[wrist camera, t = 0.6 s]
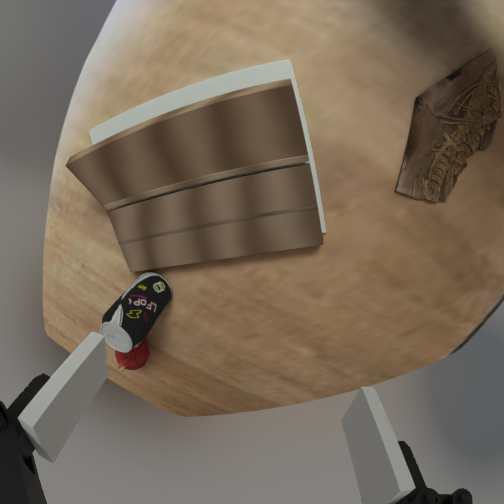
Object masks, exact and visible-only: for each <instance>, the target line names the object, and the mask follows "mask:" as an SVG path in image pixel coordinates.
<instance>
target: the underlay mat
mask: <svg viewBox="0 0 504 504" xmlns="http://www.w3.org/2000/svg"><path fill="white" fill-rule="evenodd" d="M290 78H291V81H292V85H293V89H294V93H295V97H296V101H297V106H298V110H299V114H300V118H301V123H302V127H303V132H304V137H305V141H306V146H307V151H308V156H309V161H308V162H302V163H296V164H290V165H284V166H279V167H274V168H268V169H263V170H258V171H253V172H249V173H244V174H239V175H235V176H230V177H226V178H221V179H217V180H213V181H208V182H204V183H200V184H196V185H192V186H188V187H184V188H180V189H177V190H173V191H169V192H165V193H162V194H158V195H155V196H159V195H163V194H166V193H170V192H174V191H178V190H182V189H185V188H189V187H193V186H197V185H201V184H206V183H210V182H214V181H218V180H223V179H227V178H232V177H236V176H241V175H246V174H250V173H255V172H260V171H265V170H271V169H276V168H281V167H287V166H292V165H298V164H304V163H310V166H311V171H312V177H313V182H314V187H315V193H316V199H317V205H318V211H319V217H320V223H321V230H322V233H326V228H325V221H324V214H323V208H322V202H321V196H320V190H319V184H318V179H317V173H316V168H315V163H314V158H313V153H312V148H311V143H310V138H309V134H308V129H307V125H306V120H305V116H304V111H303V107H302V103H301V99H300V95H299V91H298V87H297V83H296V79H295V76H294V72H293V68H292V64H291V61H290V59H285V60H280V61H275V62H270V63H265V64H261V65H257V66H252V67H248V68H244V69H241V70H237V71H233V72H229V73H226V74H223V75H219V76H216V77H213V78H209V79H206V80H203V81H200V82H197V83H194V84H191V85H188V86H186V87H183V88H180V89H177V90H175V91H172V92H169V93H167V94H164V95H162V96H159V97H157V98H155V99H152V100H150V101H147V102H145V103H143V104H141V105H138V106H136V107H134V108H132V109H130V110H127V111H125V112H123V113H121V114H119V115H117V116H115V117H113V118H111V119H109V120H107V121H105V122H103V123H101V124H100V125H98V126H96V127H94V128H92V129H90V130H89V132H90V136H91V140H92V144H93V145H94V144H96V143H98V142H100V141H102V140H104V139H106V138H108V137H111V136H113V135H115V134H117V133H119V132H121V131H123V130H126V129H128V128H130V127H133V126H135V125H137V124H140V123H142V122H144V121H147V120H149V119H152V118H154V117H157V116H159V115H162V114H164V113H167V112H170V111H173V110H175V109H178V108H181V107H184V106H187V105H190V104H193V103H196V102H199V101H202V100H205V99H208V98H212V97H215V96H218V95H222V94H225V93H229V92H232V91H236V90H240V89H244V88H248V87H252V86H256V85H261V84H265V83H270V82H274V81H279V80H285V79H290ZM155 196H151V197H148V198H152V197H155ZM148 198H144V199H141V200H145V199H148ZM141 200H137V201H134V202H131V203H135V202H138V201H141ZM131 203H127V204H124V205H121V206H125V205H128V204H131ZM121 206H118V207H121ZM118 207H114V208H111V209H112V210H113V209H115V208H118Z"/></svg>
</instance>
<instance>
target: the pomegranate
mask: <svg viewBox="0 0 504 504" xmlns="http://www.w3.org/2000/svg"><path fill="white" fill-rule="evenodd" d="M115 355H116V359H117V362H118V363H119V367H118V368H119V370H120V371H124V370H125V369H129V370H136V369H139V368H141V367H142V366H144V365H145V364H146V362H147V360H148V357H149V348H148V345H147V343H146V341H145V340H143V342H142V343H141V344H140V345H139V346H138V347H136V348H133V349H131V350H130V351H129V352H126V353H124V352H119V351H117V350H116V351H115Z"/></svg>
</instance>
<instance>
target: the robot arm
mask: <svg viewBox="0 0 504 504" xmlns="http://www.w3.org/2000/svg"><path fill="white" fill-rule="evenodd" d="M107 377H108V368H107V358H106V347H105V336H103V335H101V334H98V333H95V332H91V333H90V334H89V335H88V336H87V337H86V338H85V340H84V341H83V342H82V343H81V344H80V345H79V346H78V347H77V348H76V349H75V350H74V352H73V353H72V354H71V355H70V356H69V357H68V358H67V359H66V361H65V362H64V363H63V364H62V365H61V366H60V367H59V368H58V370H57V371H56V372H55V373H54V374H53V375H52V377H49V376H47V375H45V374H44V373H43V374H41V375H39V376H37V377H35V378H34V379H33V380H32V381H31V382H30V384H29V385H28V386H27V387H26V388H25V389H24V391H23V392H22V393H21V394H20V395H19V396H18V397H17V398H16V399H15V401H14V402H13V403H12V404H11V405H10V407H9V408H8V409H6V407H5V405H4V404H3V402H1V401H0V504H47V502H46V499H45V496H44V493H43V490H42V487H41V483H40V480H39V477H38V472H37V469H36V465H35V460H34V456H33V454H32V453H33V451H34V450H35V449H36V451H37V452H38V454H39V455H40V456H41V457H43V458H45V459H46V460H48V461H50V462H52V463H54V462H55V460H56V458H57V456H58V455H59V453H60V451H61V450H62V448H63V446H64V445H65V443H66V441H67V439H68V438H69V436H70V435H71V433H72V431H73V429H74V428H75V426H76V424H77V423H78V422H79V420H80V418H81V417H82V415H83V413H84V412H85V410H86V409H87V407H88V406H89V404H90V403H91V401H92V400H93V398H94V396H95V395H96V393H97V392H98V390H99V389H100V387H101V386H102V384H103V383H104V381H105V380H106V378H107ZM341 421H342V425H343V429H344V432H345V436H346V440H347V444H348V447H349V451H350V455H351V459H352V463H353V467H354V471H355V474H356V479H357V483H358V487H359V491H360V495H361V500H362V504H472V495H471V494H470V492H469V491H468V490H466V489H463V488H462V489H458V490H456V491H455V492H454V493H452V494H438V493H437V492H436V491H435V490H433V489H431V488H427V487H426V485H425V482H424V480H423V477H422V475H421V472H420V470H419V467H418V465H417V464H416V460H415V458H414V457H413V453H412V451H411V449H410V447H409V446H408V445H407V444H406V443H405V442H404V441H398V442H397V439H396V437H395V434H394V432H393V430H392V427H391V425H390V423H389V420H388V418H387V416H386V414H385V411H384V409H383V407H382V404H381V402H380V400H379V398H378V395H377V393H376V391H375V389H374V387H361V388H360V390H359V392H358V394H357V395H356V397H355V399H354V400H353V402H352V404H351V405H350V407H349V409H348V410H347V412H346V414H345V415H344V417H343V418H342V420H341Z"/></svg>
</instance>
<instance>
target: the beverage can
mask: <svg viewBox="0 0 504 504" xmlns="http://www.w3.org/2000/svg"><path fill="white" fill-rule="evenodd" d="M171 298H172V290H171V287H170V285H169V284H168V282H167V281H166V280H165V279H164V278H163V277H162V276H160V275H159V274H156V273H153V272H146V273H143V274H142V275H140V276H139V277H138V278H137V280H136V281H135V282H134V283H133V284H132V285H131V286H130V287H129V288H128V289H127V290H126V291H125V292H124V293H123V294H122V295H121V296H120V298H119V299H118V300H117V301H116V302H115V303H114V304H113V305H112V306H111V307H110V308H109V309H108V311H107V312H106V313H105V314H104V316H103V319H102V325H101V327H100V333H101V335H103V336H105V342H106V343H107V344H108V345H109V346H110V347H112V348H113V349H115V350H117V351H119V352H124V353H126V352H129V351H130V350H131V349H133V348H136V347H138V346H139V345H140V344H141V343H142V342H143V340H144V339H145V337H146V336H147V334H148V333H149V331H150V330H151V328H152V327H153V325H154V324H155V322H156V321H157V320H158V318H159V317H160V315H161V314H162V312H163V311H164V309H165V308H166V307H167V305H168V304H169V302H170V300H171Z"/></svg>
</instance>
